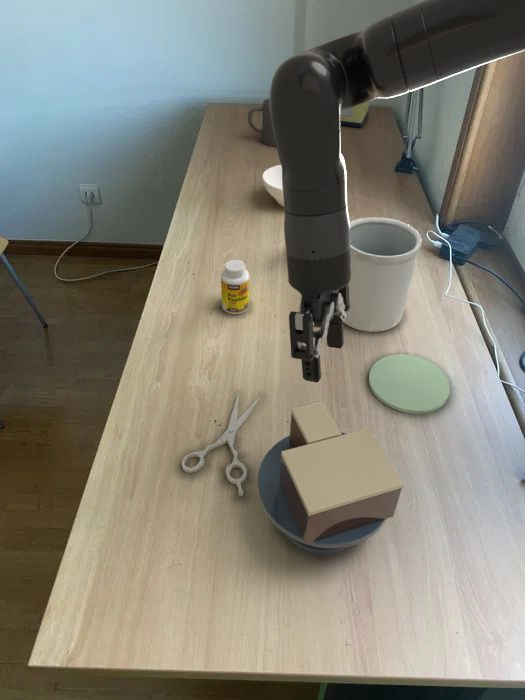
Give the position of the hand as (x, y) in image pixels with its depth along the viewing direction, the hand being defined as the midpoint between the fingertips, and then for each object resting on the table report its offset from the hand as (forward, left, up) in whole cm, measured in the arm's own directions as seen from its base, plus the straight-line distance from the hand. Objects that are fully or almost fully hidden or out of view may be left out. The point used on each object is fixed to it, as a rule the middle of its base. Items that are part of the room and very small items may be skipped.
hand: (324, 362), depth 73 cm
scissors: (+13, -4, -20) cm, 24 cm away
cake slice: (+1, +5, -12) cm, 13 cm away
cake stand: (0, +10, -20) cm, 23 cm away
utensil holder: (-14, -37, -21) cm, 45 cm away
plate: (-18, -16, -20) cm, 32 cm away
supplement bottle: (+13, -38, -21) cm, 45 cm away
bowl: (-1, -84, -21) cm, 87 cm away
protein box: (-25, -146, -20) cm, 149 cm away
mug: (+4, -125, -21) cm, 127 cm away
